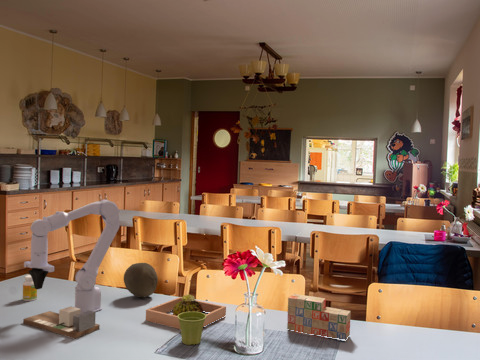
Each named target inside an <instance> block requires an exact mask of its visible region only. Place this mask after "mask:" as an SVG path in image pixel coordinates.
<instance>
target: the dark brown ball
mask: <svg viewBox="0 0 480 360" xmlns="http://www.w3.org/2000/svg"><path fill="white" fill-rule="evenodd" d="M158 282H159V280H158V274H157V272H156V270H155V268H154V266H152V265H151V264H150V263H147V262H136V263H133V264H131V265H130V266H128V268H127V269H126V270H125V272H124V274H123V283H124V286H125V288H126V289H127V291H128V292H129V293H131V294H132V295H133V296H135V297H138V298H148V297H150V296H151V295H153V294H154V293H155V291H156V289H157V286H158Z"/></svg>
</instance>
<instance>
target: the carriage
mask: <svg viewBox="0 0 480 360" xmlns="http://www.w3.org/2000/svg"><path fill="white" fill-rule="evenodd" d="M80 313H81V309H79V308H75V306H67V307H64V308H62V309H59V311H58V314H59V324H58V325H56V326H59V325H65V326H72V325H73V316H74V315H77V314H80Z"/></svg>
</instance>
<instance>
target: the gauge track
mask: <svg viewBox="0 0 480 360" xmlns="http://www.w3.org/2000/svg"><path fill="white" fill-rule="evenodd" d="M96 312H97V311H96ZM96 312H94V311H90V310H89V311H86V312H83V313H80V314H77V315H74V316H73V325H72V326H65V325H59V326H56V325H58V324H59V312H54V311H49V310H48V311H45V312H42V313H38V314H36V315H35V314H34V315H32V316H29V317H24V318H23V319H22V320H23V321H22V324H25V325H28V326H32V327H35V328H38V329H42V330H45V331H48V332H51V333H55V334H58V335H61V336H65V337H68V338H71V339H77V338H79V337H82V336H86V335H88V334H91V333H93V332H95V331H98V330H100V324H97V323H96Z"/></svg>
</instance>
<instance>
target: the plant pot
mask: <svg viewBox="0 0 480 360" xmlns="http://www.w3.org/2000/svg"><path fill="white" fill-rule="evenodd" d="M205 314H206V313H201V312H184V313H180V314H179V315H178V316H177V317H178V319H179V322H180V328H181V329H180V336H181V342H182V344H184V345H187V346H191V345H195V344H196V345H199V344H200V343H201V341H202V334H203V329H204V328H203V323H204V321H205V319H206V315H205Z"/></svg>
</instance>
